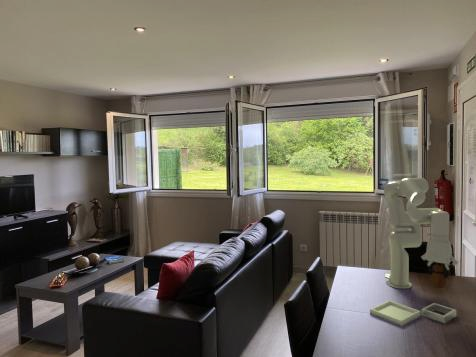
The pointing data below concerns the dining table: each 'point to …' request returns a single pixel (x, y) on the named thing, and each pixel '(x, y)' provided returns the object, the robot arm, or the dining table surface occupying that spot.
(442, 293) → the dining table surface
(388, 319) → the sage tray
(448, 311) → the white square bin
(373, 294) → the dining table surface
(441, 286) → the brown lumpy elongated piece
